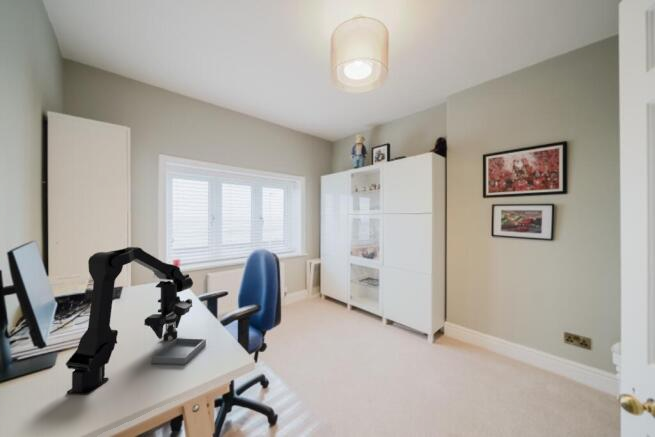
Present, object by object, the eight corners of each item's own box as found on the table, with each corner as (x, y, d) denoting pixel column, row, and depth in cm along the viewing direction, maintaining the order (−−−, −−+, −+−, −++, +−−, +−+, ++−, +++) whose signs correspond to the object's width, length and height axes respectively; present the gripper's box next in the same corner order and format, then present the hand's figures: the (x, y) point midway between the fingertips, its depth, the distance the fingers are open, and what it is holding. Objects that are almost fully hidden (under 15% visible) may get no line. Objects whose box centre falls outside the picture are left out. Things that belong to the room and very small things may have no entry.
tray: (184, 365, 81) (184, 357, 81) (151, 364, 81) (151, 356, 81) (205, 345, 94) (205, 338, 94) (176, 344, 94) (176, 337, 94)
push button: (157, 344, 94) (157, 319, 94) (160, 338, 99) (160, 314, 99) (177, 340, 97) (177, 316, 97) (178, 334, 102) (179, 311, 102)
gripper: (171, 304, 88) (171, 345, 88) (200, 289, 107) (200, 323, 107) (143, 303, 89) (143, 344, 89) (176, 288, 108) (176, 323, 107)
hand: (168, 333), depth 98 cm, fingers open, 9 cm apart
